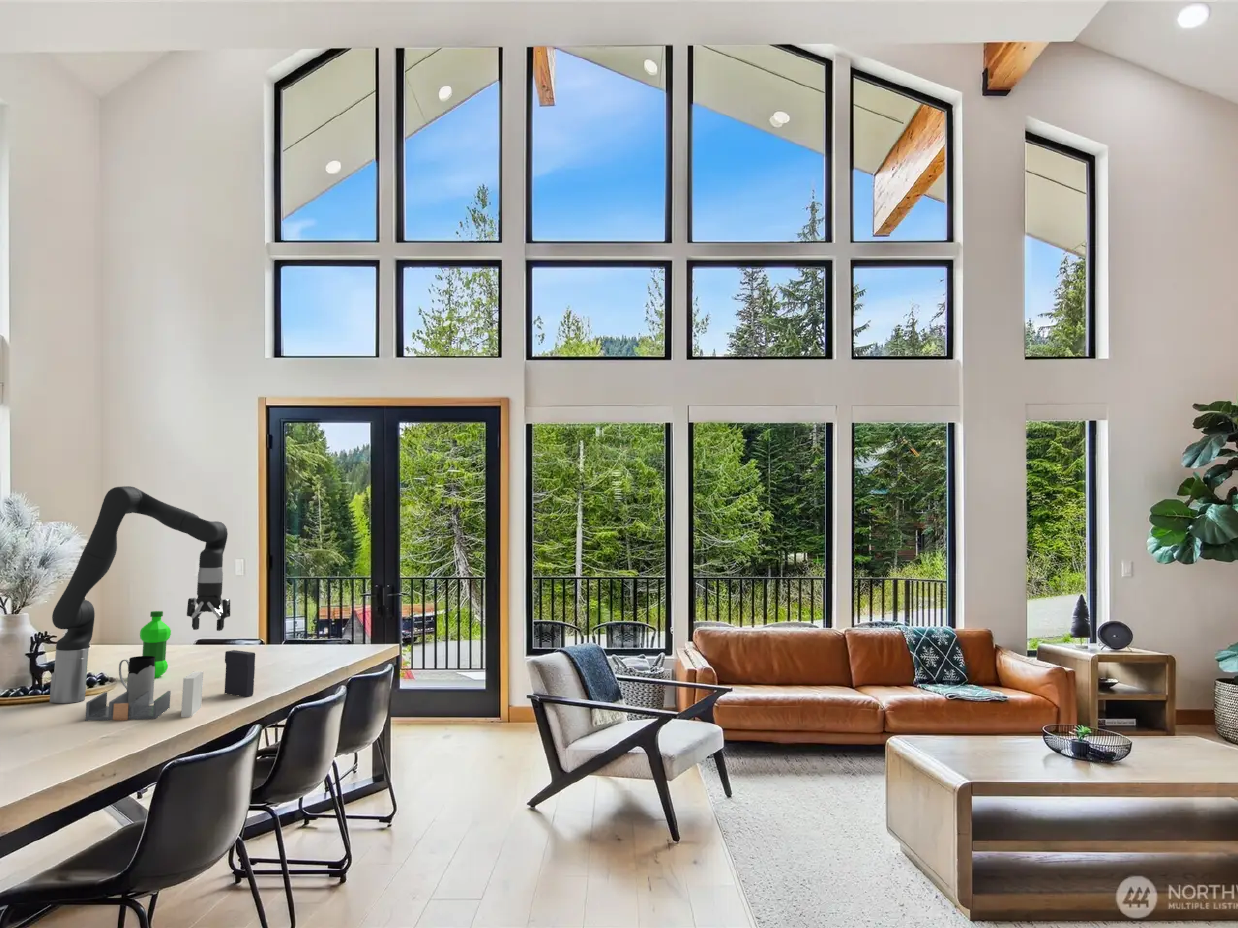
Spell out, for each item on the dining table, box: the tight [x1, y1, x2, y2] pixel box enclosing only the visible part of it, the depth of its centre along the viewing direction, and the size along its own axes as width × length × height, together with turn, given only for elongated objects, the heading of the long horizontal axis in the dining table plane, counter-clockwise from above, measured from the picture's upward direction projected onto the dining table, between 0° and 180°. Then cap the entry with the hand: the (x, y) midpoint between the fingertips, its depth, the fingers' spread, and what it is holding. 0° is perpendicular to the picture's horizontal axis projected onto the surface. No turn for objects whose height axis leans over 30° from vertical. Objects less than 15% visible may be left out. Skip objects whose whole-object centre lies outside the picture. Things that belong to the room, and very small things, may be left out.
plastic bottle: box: [139, 610, 172, 679], centre depth 322 cm, size 10×10×25 cm
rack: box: [84, 690, 172, 722], centre depth 262 cm, size 19×16×6 cm
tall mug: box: [118, 655, 155, 706], centre depth 278 cm, size 9×14×15 cm, turn 71°
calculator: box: [224, 649, 256, 698], centre depth 294 cm, size 11×4×15 cm, turn 65°
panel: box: [180, 670, 204, 718], centre depth 267 cm, size 3×12×12 cm, turn 14°
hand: (207, 629), depth 277 cm, fingers open, 8 cm apart
